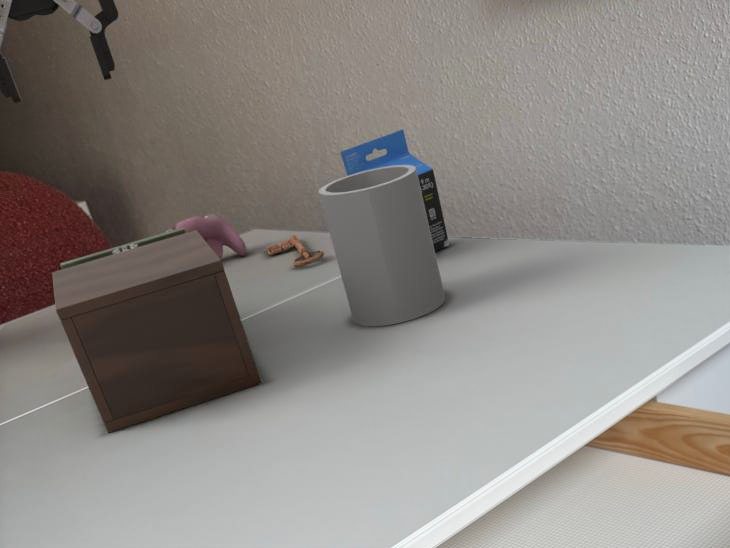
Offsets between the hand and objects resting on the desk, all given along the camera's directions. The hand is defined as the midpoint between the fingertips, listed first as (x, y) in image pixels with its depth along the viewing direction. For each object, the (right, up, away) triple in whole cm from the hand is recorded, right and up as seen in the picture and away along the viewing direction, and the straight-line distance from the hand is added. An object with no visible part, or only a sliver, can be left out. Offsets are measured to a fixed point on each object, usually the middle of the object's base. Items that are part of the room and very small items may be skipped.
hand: (62, 90), depth 103 cm
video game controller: (+5, -4, +36) cm, 37 cm away
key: (+17, -5, +31) cm, 35 cm away
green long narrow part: (+7, -22, +8) cm, 24 cm away
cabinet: (+11, -28, -2) cm, 30 cm away
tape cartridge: (+32, -10, +18) cm, 38 cm away
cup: (+31, -20, +3) cm, 37 cm away
